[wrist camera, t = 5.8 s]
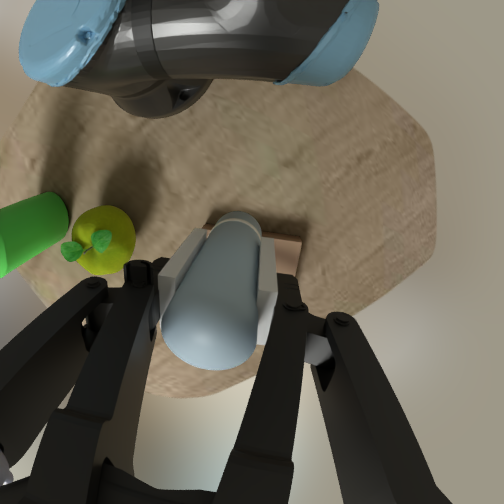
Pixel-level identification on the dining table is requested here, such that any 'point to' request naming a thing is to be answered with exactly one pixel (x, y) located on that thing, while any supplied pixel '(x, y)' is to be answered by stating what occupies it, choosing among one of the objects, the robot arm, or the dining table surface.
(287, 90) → the dining table surface
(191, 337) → the peg
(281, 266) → the board
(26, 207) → the bottle
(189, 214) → the dining table surface
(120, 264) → the fruit
